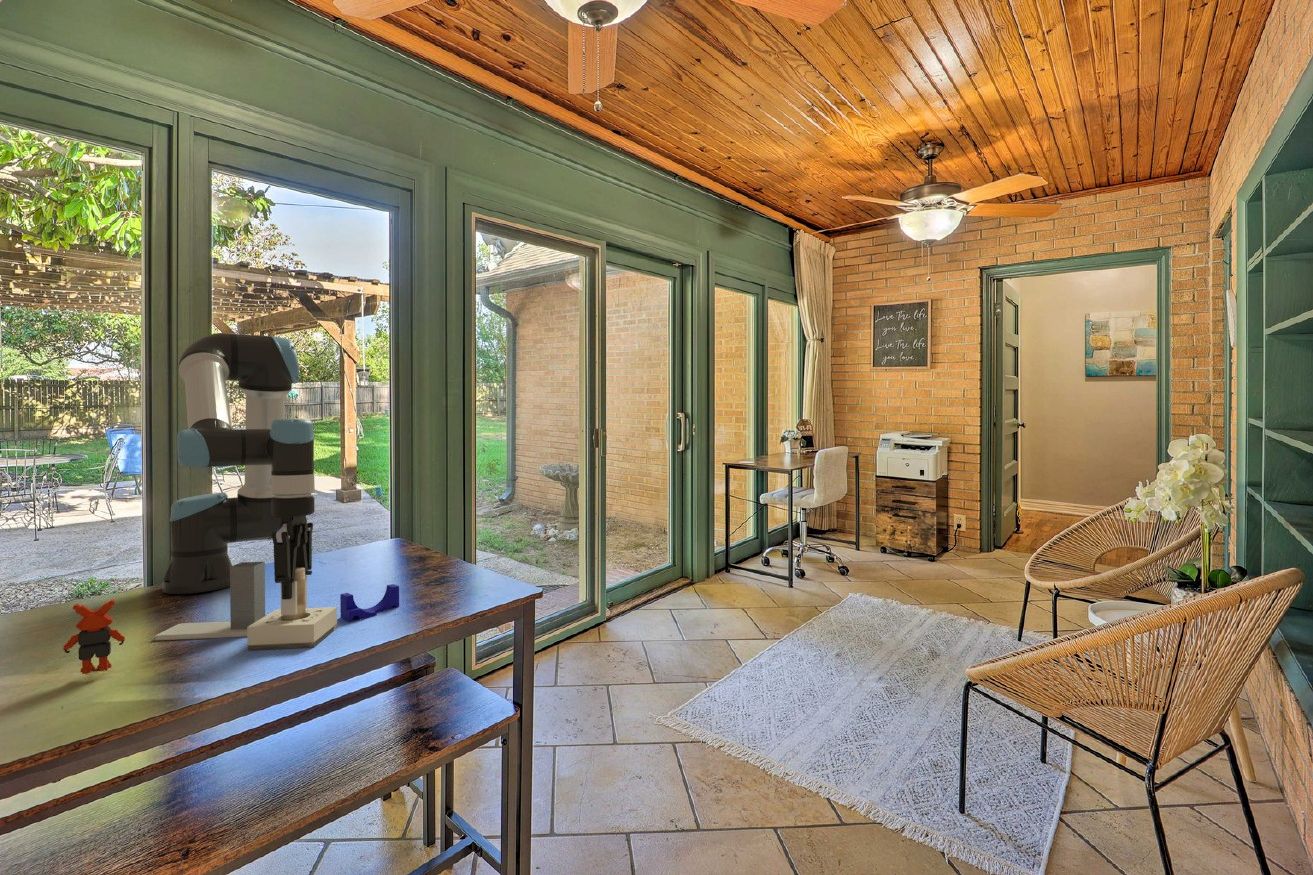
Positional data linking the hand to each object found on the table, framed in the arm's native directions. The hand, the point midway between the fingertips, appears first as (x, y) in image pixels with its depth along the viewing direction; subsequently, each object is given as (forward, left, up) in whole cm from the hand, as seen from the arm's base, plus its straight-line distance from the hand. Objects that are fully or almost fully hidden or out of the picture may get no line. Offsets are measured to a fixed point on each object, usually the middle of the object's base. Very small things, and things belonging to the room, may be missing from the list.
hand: (294, 610), depth 127 cm
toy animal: (+12, -28, -6) cm, 31 cm away
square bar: (-7, -12, -5) cm, 15 cm away
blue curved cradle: (-14, +11, -6) cm, 19 cm away
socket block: (0, 0, -6) cm, 6 cm away
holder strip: (-7, -17, -6) cm, 20 cm away
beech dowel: (0, 0, -5) cm, 5 cm away
